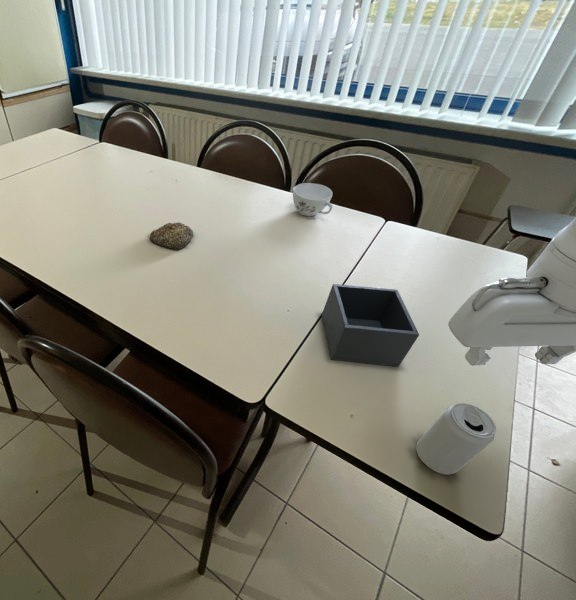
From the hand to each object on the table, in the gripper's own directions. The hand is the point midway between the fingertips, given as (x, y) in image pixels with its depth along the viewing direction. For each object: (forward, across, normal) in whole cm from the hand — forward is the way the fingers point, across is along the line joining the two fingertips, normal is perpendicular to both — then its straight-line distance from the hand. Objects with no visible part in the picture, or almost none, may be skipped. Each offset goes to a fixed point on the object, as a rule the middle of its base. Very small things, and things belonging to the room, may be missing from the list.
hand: (508, 361), depth 48 cm
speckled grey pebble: (+22, -43, +68) cm, 84 cm away
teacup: (+22, +4, +82) cm, 86 cm away
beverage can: (+23, 0, -2) cm, 23 cm away
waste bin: (+23, -3, +25) cm, 34 cm away
